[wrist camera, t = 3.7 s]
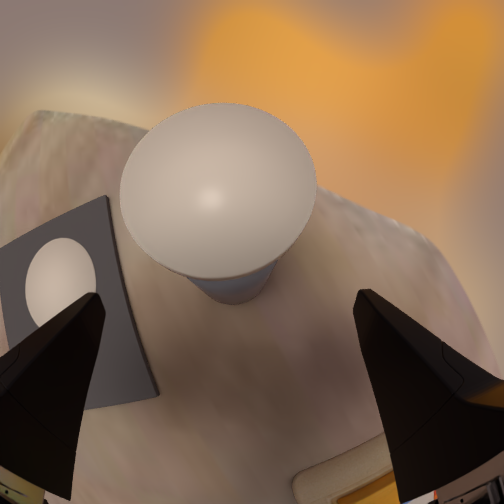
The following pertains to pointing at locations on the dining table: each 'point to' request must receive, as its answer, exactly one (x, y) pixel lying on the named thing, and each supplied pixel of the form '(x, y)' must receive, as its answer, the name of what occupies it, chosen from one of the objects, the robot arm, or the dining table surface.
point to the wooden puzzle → (353, 478)
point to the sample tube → (219, 196)
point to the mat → (77, 296)
